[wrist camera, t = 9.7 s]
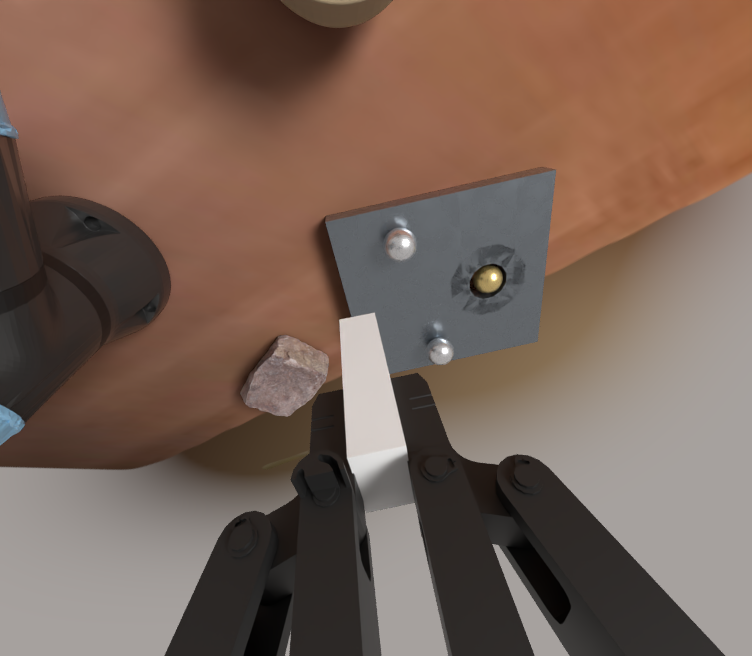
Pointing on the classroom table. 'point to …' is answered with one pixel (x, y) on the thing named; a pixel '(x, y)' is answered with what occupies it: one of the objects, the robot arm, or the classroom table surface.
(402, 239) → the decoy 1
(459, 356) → the plate
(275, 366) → the stone
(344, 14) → the bowl
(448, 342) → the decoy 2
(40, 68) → the classroom table surface
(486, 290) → the brass ball
